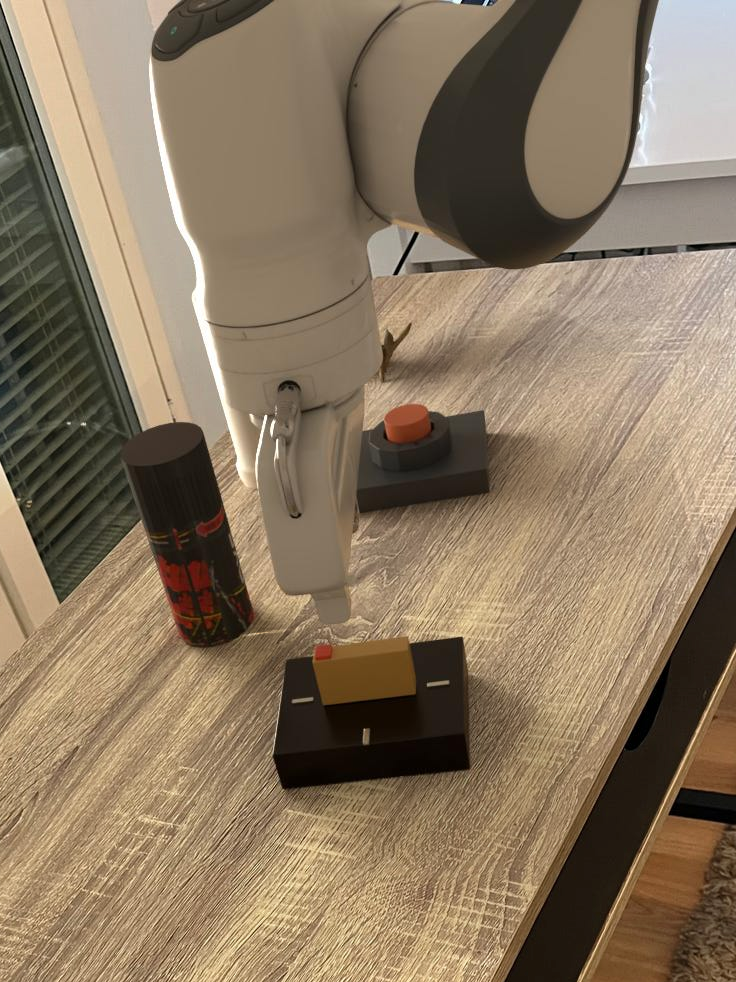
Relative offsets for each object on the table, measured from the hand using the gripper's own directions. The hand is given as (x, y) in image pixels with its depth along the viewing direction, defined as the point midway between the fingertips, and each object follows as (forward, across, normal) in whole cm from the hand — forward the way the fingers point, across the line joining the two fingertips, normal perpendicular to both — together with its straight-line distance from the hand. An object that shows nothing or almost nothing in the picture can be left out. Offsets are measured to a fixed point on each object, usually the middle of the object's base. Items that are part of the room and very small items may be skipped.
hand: (341, 570), depth 76 cm
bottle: (+13, +37, +11) cm, 41 cm away
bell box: (+12, +33, -2) cm, 35 cm away
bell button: (+9, +33, -2) cm, 34 cm away
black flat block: (+12, 0, 0) cm, 12 cm away
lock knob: (+9, 0, 0) cm, 9 cm away
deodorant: (+13, +15, +13) cm, 23 cm away
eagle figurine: (+12, +55, +3) cm, 56 cm away
